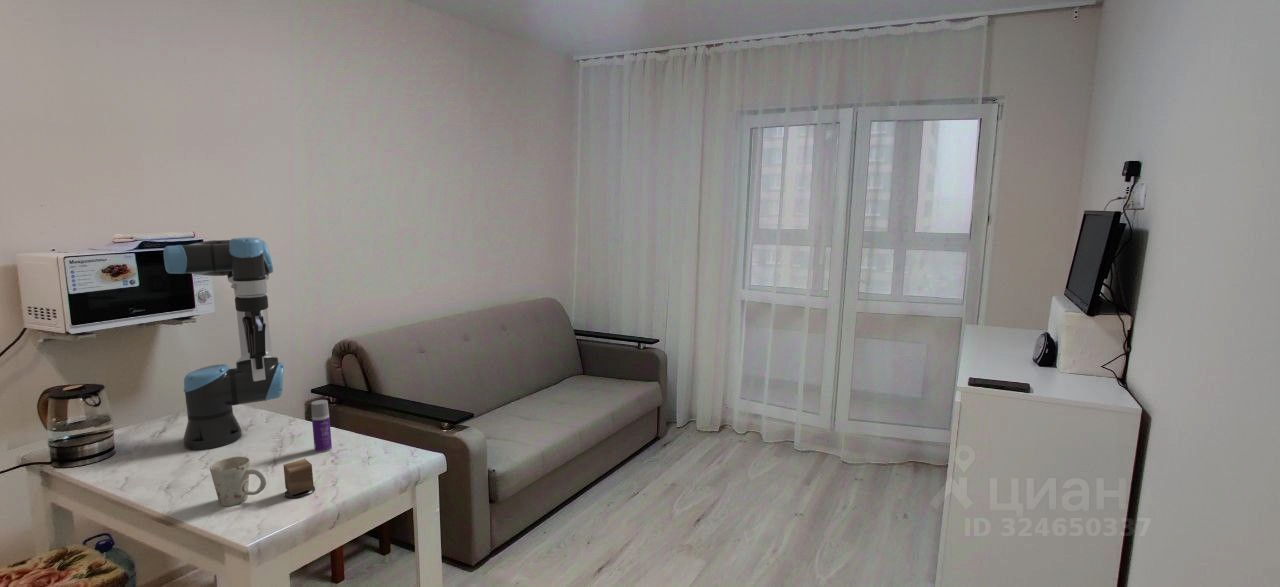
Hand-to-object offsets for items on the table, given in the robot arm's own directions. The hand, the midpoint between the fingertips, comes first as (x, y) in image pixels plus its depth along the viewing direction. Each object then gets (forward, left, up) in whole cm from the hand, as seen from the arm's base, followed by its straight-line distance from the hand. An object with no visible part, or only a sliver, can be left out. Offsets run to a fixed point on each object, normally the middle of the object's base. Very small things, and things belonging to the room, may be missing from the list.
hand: (259, 379), depth 170 cm
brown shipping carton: (+21, +2, -25) cm, 33 cm away
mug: (+15, -10, -27) cm, 32 cm away
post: (+21, +2, -26) cm, 34 cm away
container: (-4, +16, -27) cm, 31 cm away
